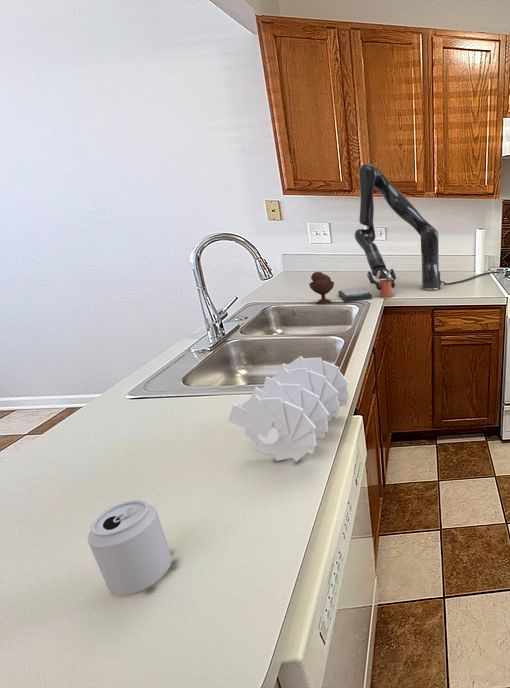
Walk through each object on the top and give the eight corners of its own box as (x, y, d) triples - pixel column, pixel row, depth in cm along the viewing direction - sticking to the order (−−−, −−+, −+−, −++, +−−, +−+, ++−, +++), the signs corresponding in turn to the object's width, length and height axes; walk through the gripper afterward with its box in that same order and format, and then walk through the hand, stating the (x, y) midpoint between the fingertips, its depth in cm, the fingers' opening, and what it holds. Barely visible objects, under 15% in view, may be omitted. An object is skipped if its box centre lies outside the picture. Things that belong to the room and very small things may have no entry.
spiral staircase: (341, 422, 105) (296, 486, 82) (278, 393, 103) (214, 451, 80) (366, 366, 100) (327, 418, 76) (301, 335, 98) (239, 378, 74)
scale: (363, 292, 208) (363, 287, 207) (371, 298, 198) (371, 293, 197) (338, 295, 202) (338, 289, 201) (345, 302, 191) (344, 296, 190)
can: (104, 578, 59) (77, 517, 55) (164, 545, 65) (144, 487, 61) (117, 610, 55) (90, 547, 51) (180, 572, 61) (160, 512, 56)
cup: (389, 294, 207) (388, 279, 204) (393, 296, 202) (393, 281, 200) (378, 295, 204) (377, 280, 201) (382, 298, 199) (381, 282, 197)
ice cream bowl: (328, 306, 184) (324, 274, 179) (306, 304, 186) (302, 273, 181) (340, 300, 194) (337, 270, 189) (319, 298, 196) (316, 268, 191)
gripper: (364, 258, 198) (375, 286, 193) (390, 256, 206) (402, 282, 202) (360, 267, 204) (371, 294, 199) (386, 264, 212) (397, 290, 208)
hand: (387, 288), depth 201 cm, fingers open, 7 cm apart
